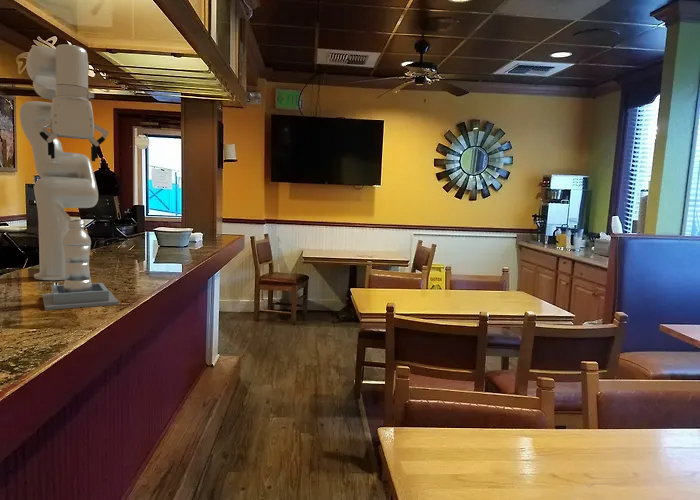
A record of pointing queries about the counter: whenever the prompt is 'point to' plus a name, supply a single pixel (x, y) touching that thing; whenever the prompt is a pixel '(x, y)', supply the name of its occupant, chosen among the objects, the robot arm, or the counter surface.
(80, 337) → the counter surface
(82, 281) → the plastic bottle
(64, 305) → the blue-grey square tray
